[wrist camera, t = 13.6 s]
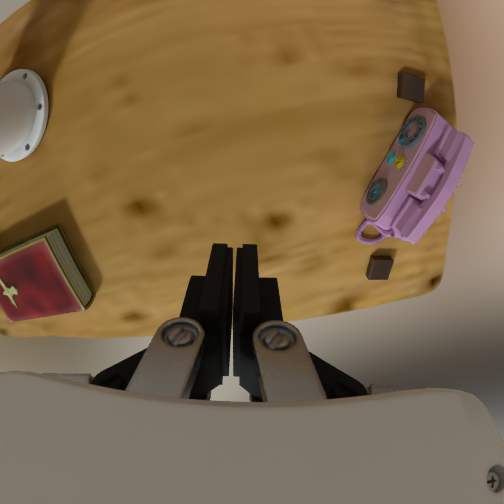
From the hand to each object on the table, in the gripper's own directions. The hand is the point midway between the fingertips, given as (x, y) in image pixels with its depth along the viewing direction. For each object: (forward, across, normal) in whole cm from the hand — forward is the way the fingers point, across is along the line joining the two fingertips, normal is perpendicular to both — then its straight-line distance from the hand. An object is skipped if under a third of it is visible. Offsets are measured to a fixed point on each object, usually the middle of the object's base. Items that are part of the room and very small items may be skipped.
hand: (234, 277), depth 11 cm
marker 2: (+21, -18, -11) cm, 30 cm away
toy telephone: (+21, -18, 0) cm, 28 cm away
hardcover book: (+21, +33, +16) cm, 42 cm away
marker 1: (+21, -18, +12) cm, 30 cm away
